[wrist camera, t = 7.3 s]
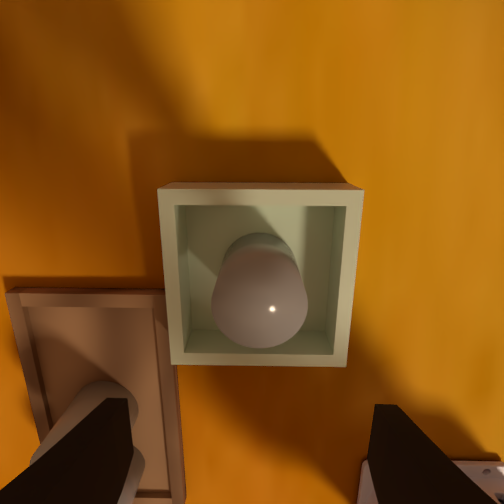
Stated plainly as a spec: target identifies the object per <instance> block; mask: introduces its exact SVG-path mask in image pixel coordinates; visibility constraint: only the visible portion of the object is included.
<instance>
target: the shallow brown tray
mask: <svg viewBox="0 0 504 504" xmlns="http://www.w3.org/2000/svg"><path fill="white" fill-rule="evenodd" d="M5 297H6V301H7V305H8V310H9V314H10V318H11V322H12V326H13V331H14V335H15V339H16V343H17V347H18V352H19V356H20V360H21V364H22V369H23V373H24V377H25V381H26V385H27V390H28V394H29V398H30V402H31V406H32V411H33V415H34V419H35V423H36V428H37V432H38V436H39V440H40V444H41V443H42V442H43V440H44V439H45V438H46V436H47V435H48V434H49V432H50V431H51V429H52V428H53V427H54V425H55V424H56V422H57V421H58V420H59V418H60V417H61V416H62V414H63V413H64V411H65V410H66V409H67V407H68V406H69V405H70V403H71V402H72V400H73V399H74V398H75V396H76V395H77V393H78V392H79V391H80V390H81V388H83V387H84V386H85V385H87V384H89V383H92V382H96V381H109V382H113V383H117V384H119V385H121V386H123V387H124V388H126V389H127V390H128V391H130V392H131V393H132V395H133V396H134V397H135V399H136V401H137V403H138V407H139V413H138V417H137V420H136V422H135V424H134V426H133V429H132V431H131V432H132V441H133V445H134V446H135V447H136V448H137V449H138V450H139V451H140V452H141V453H142V455H143V457H144V459H145V470H144V472H143V475H142V478H141V481H140V484H139V487H138V490H137V493H136V495H135V498H134V501H133V504H185V500H186V484H185V470H184V457H183V444H182V430H181V417H180V404H179V390H178V377H177V365H171V355H170V343H169V331H168V318H167V306H166V293H165V289H122V288H29V287H14V288H13V289H11V290H9V291H7V292H6V293H5Z"/></svg>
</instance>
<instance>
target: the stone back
mask: <svg viewBox="0 0 504 504" xmlns="http://www.w3.org/2000/svg"><path fill="white" fill-rule="evenodd" d="M133 449H134V454H133V458H132V461H131V465H130V468H129V471H128V475H127V478H126V481H125V484H124V487H123V490H122V493H121V496H120V498H119V500H118V503H117V504H133V501H134V498H135V495H136V493H137V490H138V487H139V484H140V481H141V478H142V475H143V472H144V470H145V459H144V457H143V455H142V453H141V452H140V451H139V450H138V449H137V448H136V447H135V446H134V445H133Z"/></svg>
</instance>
